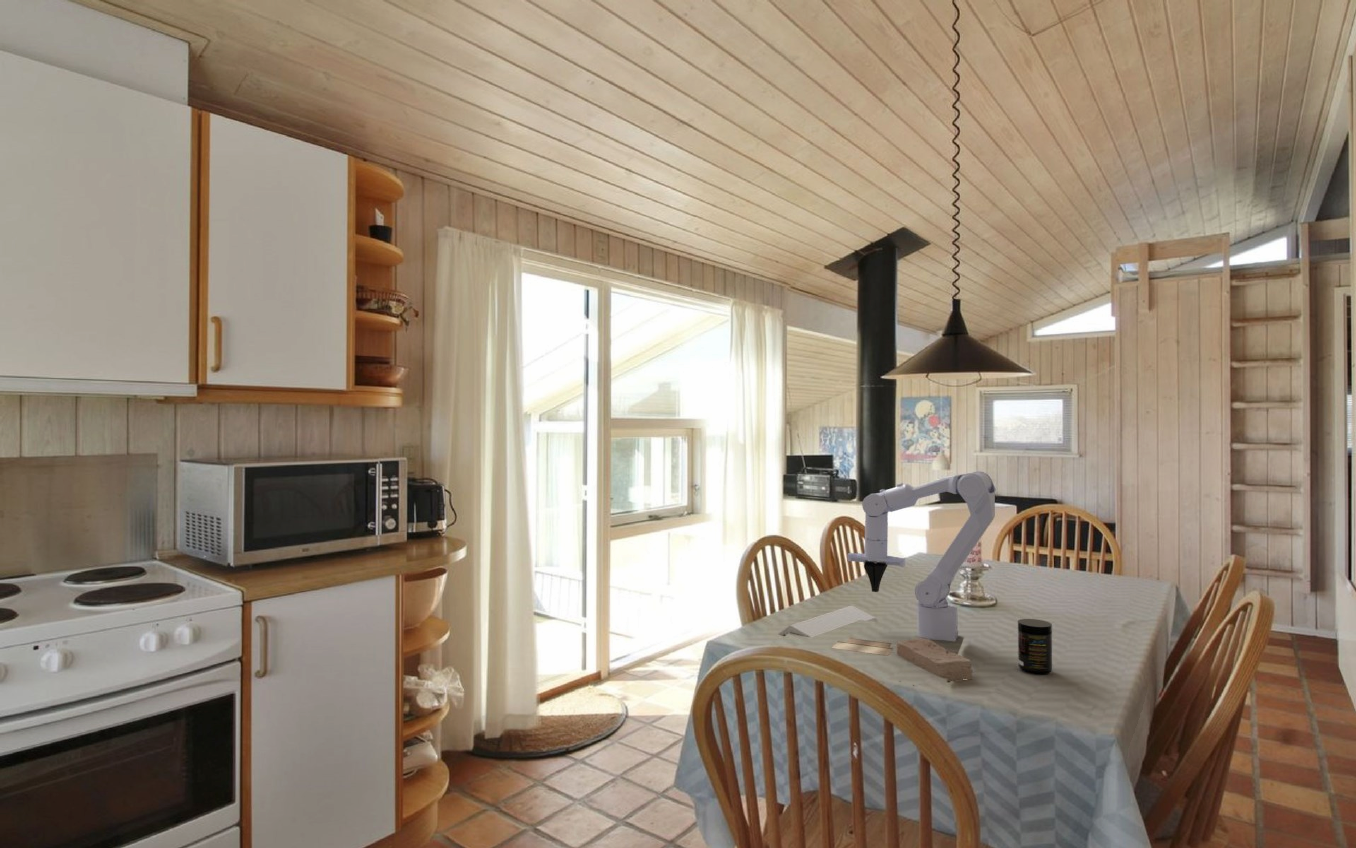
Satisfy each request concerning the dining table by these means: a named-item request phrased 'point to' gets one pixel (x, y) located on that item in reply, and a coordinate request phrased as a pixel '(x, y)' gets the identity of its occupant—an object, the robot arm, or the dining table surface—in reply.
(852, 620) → the crown molding
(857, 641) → the plank
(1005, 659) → the dining table surface
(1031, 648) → the supplement container
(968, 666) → the brick
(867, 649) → the floor strip
